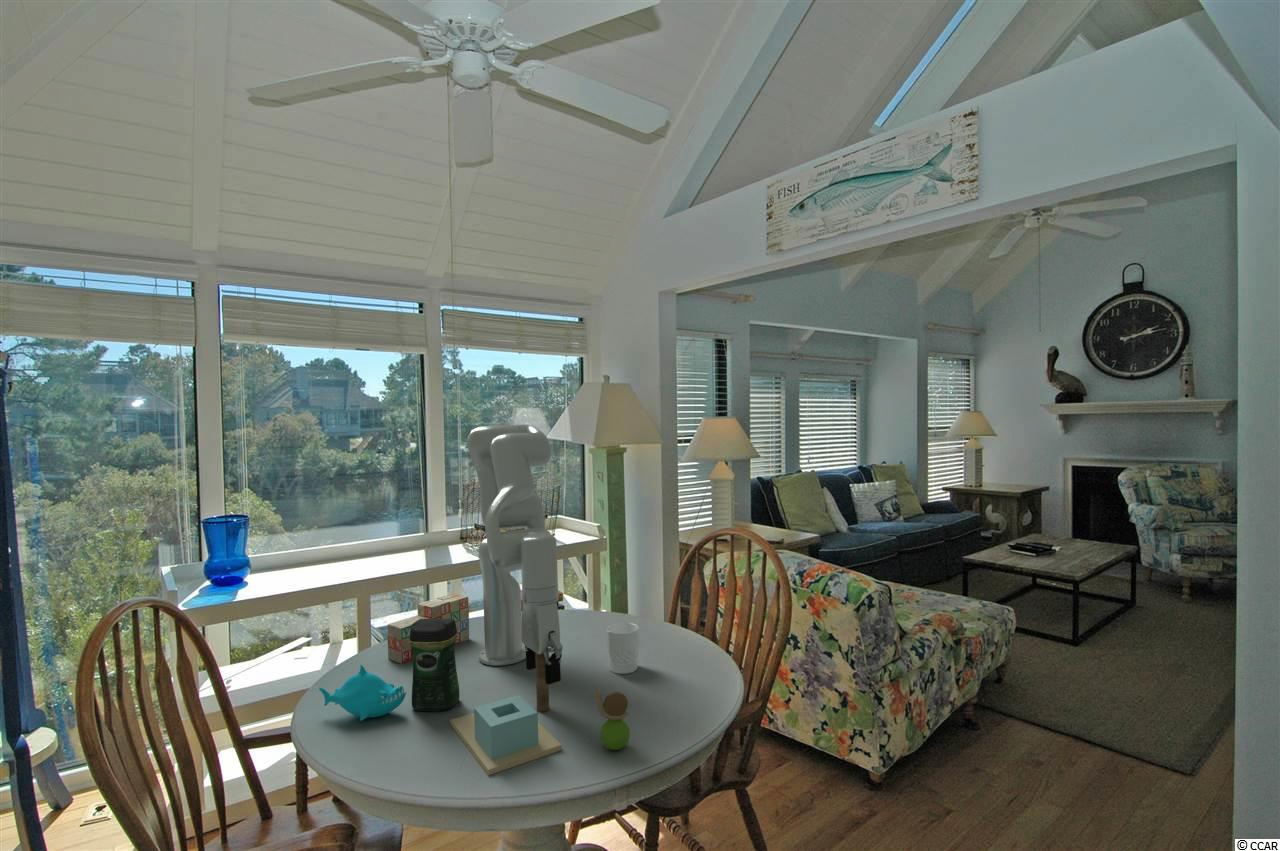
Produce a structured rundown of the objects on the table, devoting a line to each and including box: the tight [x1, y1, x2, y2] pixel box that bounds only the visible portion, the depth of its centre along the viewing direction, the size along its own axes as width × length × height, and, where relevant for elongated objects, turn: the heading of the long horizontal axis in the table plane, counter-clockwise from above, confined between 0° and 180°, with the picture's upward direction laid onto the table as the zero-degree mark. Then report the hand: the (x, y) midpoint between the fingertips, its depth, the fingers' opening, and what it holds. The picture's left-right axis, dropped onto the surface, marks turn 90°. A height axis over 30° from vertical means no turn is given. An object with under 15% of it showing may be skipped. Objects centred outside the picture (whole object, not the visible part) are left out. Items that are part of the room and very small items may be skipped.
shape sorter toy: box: [450, 694, 563, 776], centre depth 120 cm, size 22×14×7 cm, turn 33°
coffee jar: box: [409, 618, 461, 712], centre depth 135 cm, size 10×8×19 cm
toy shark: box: [318, 664, 407, 722], centre depth 130 cm, size 10×18×11 cm, turn 90°
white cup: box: [606, 622, 640, 675], centre depth 152 cm, size 8×8×10 cm
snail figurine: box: [593, 683, 631, 751], centre depth 115 cm, size 5×6×12 cm
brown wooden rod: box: [535, 647, 550, 713], centre depth 131 cm, size 3×3×14 cm
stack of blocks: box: [387, 593, 470, 664], centre depth 168 cm, size 21×6×12 cm, turn 144°
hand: (543, 675), depth 131 cm, fingers open, 9 cm apart
